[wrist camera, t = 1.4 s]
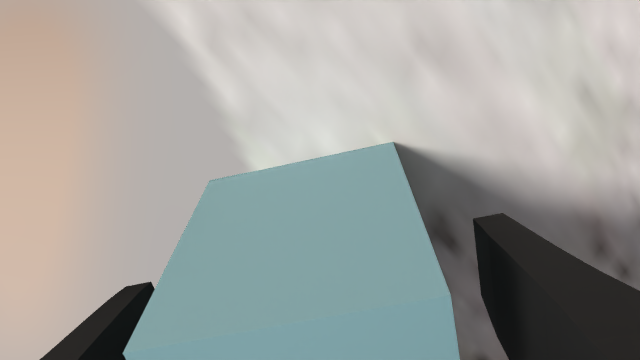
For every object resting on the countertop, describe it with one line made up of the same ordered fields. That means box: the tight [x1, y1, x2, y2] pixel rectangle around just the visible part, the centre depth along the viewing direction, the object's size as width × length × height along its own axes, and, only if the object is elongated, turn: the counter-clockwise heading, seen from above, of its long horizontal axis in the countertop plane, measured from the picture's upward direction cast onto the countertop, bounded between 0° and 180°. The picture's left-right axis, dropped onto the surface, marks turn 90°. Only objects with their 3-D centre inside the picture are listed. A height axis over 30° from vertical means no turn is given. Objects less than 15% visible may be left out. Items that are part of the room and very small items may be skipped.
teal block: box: [123, 142, 460, 360], centre depth 10 cm, size 4×4×6 cm
